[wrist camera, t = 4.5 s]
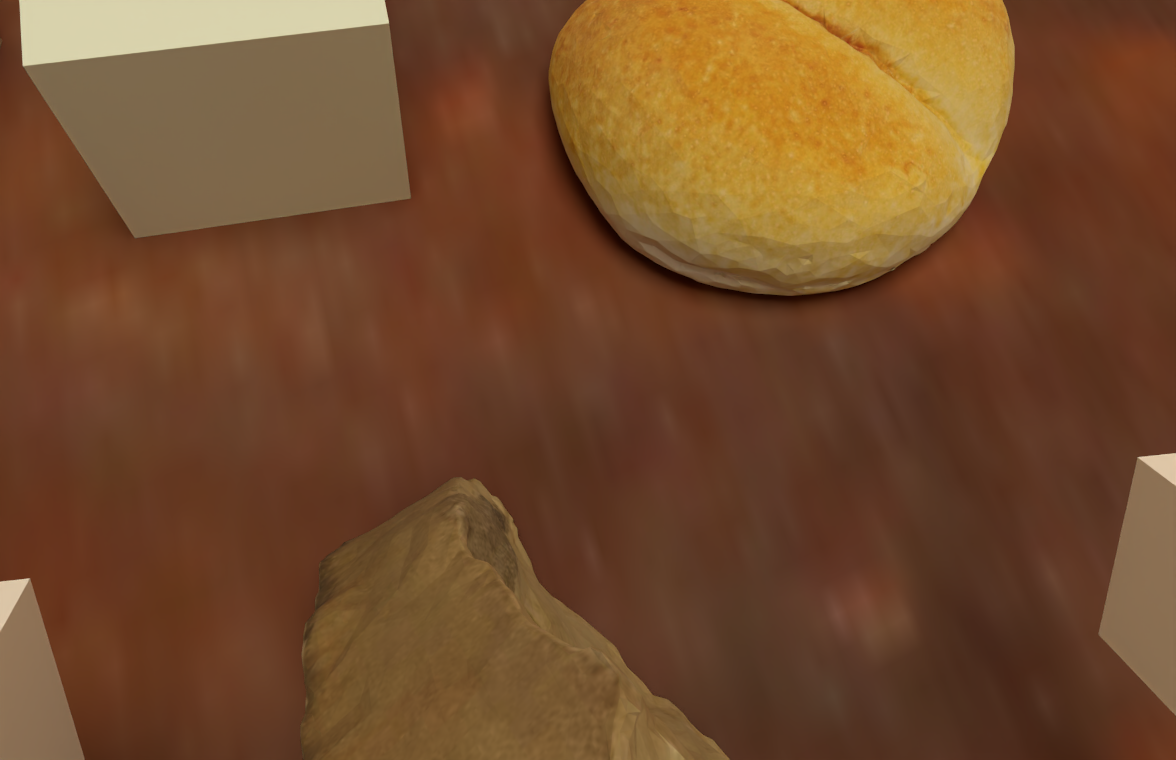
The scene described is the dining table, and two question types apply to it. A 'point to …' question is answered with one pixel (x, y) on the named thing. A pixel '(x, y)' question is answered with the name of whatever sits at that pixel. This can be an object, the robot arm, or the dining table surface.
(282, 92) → the pale cream cube
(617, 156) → the bread roll
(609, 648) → the rock
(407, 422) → the dining table surface
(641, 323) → the dining table surface
